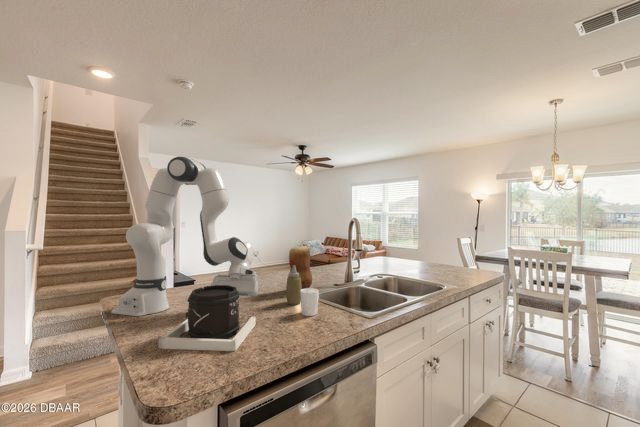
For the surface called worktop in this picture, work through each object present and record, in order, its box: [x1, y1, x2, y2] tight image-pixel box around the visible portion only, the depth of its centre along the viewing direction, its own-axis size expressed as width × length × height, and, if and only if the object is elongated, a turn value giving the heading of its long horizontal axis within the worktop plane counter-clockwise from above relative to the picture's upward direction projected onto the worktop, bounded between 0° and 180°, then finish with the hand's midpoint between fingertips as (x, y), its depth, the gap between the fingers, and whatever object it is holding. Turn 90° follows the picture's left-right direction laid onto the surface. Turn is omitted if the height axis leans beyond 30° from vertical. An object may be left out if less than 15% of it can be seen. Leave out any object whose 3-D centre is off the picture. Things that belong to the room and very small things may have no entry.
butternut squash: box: [286, 245, 313, 289], centre depth 164 cm, size 14×13×25 cm
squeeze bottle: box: [285, 265, 302, 306], centre depth 143 cm, size 8×8×18 cm
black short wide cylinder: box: [185, 285, 240, 339], centre depth 107 cm, size 18×18×16 cm
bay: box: [158, 316, 257, 352], centre depth 106 cm, size 25×22×3 cm
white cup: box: [300, 287, 320, 317], centre depth 129 cm, size 8×8×10 cm
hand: (229, 304), depth 123 cm, fingers closed
